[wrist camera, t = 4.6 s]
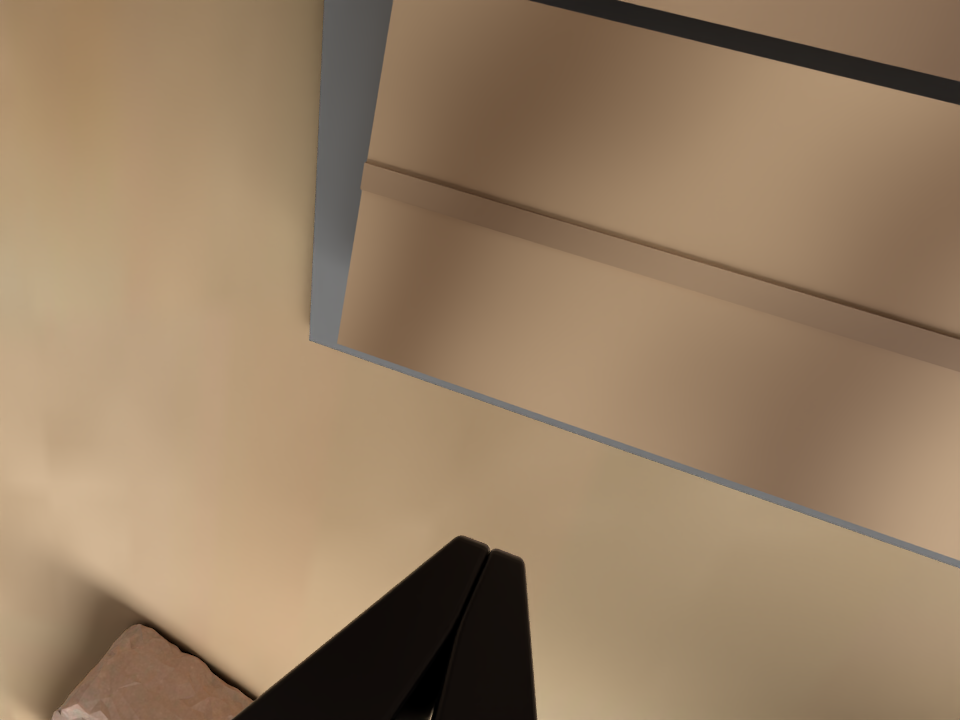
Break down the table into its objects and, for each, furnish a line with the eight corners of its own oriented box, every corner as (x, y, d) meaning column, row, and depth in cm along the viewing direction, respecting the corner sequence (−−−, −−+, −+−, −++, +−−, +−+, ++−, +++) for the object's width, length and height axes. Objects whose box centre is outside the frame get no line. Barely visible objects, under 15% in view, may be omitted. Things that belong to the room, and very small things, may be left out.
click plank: (1795, 314, 10) (1943, 344, 9) (1408, 684, 13) (1482, 745, 11) (423, -22, 13) (395, -33, 12) (361, 326, 16) (335, 344, 15)
